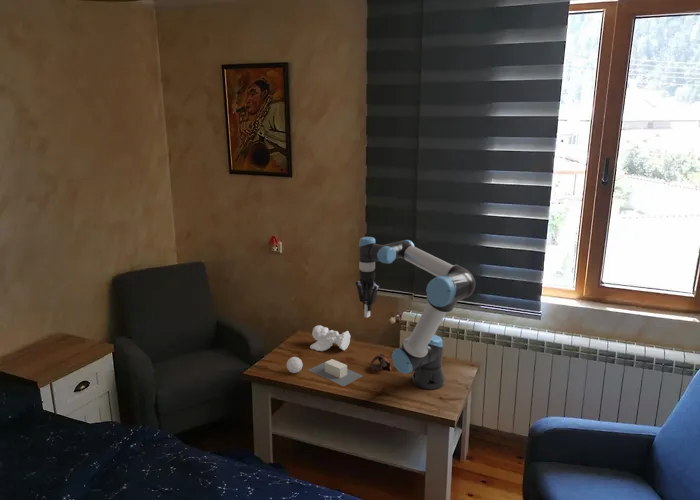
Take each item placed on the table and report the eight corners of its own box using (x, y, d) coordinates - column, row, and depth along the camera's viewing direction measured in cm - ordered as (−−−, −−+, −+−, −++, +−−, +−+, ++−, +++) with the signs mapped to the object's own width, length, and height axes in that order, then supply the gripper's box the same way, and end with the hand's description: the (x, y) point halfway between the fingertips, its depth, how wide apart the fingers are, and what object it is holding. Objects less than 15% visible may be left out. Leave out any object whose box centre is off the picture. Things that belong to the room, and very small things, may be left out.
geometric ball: (299, 376, 266) (307, 367, 263) (285, 375, 262) (293, 365, 258) (295, 364, 271) (303, 354, 268) (281, 362, 267) (289, 352, 263)
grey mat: (363, 376, 261) (363, 375, 261) (343, 387, 251) (343, 386, 251) (327, 361, 277) (327, 360, 277) (307, 370, 267) (307, 370, 266)
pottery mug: (393, 375, 264) (386, 363, 260) (376, 381, 266) (368, 370, 263) (392, 358, 274) (385, 347, 271) (375, 364, 277) (368, 353, 273)
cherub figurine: (341, 338, 279) (307, 327, 287) (339, 359, 283) (305, 348, 291) (351, 328, 291) (318, 318, 298) (349, 348, 295) (317, 338, 302)
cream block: (347, 365, 261) (332, 358, 267) (340, 368, 257) (324, 362, 264) (347, 374, 262) (332, 368, 269) (340, 378, 258) (324, 371, 265)
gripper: (383, 270, 255) (382, 317, 261) (361, 265, 263) (361, 311, 269) (373, 273, 249) (373, 321, 255) (351, 269, 257) (352, 315, 263)
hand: (367, 316), depth 262 cm, fingers closed
